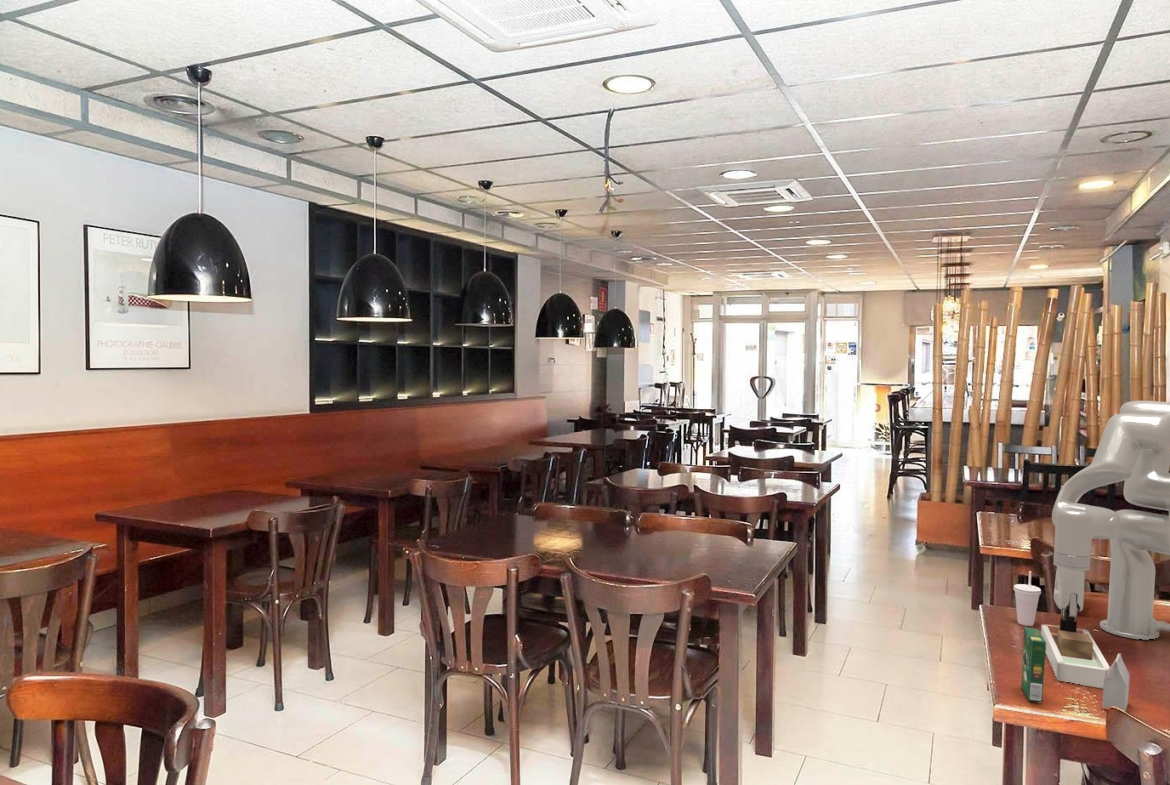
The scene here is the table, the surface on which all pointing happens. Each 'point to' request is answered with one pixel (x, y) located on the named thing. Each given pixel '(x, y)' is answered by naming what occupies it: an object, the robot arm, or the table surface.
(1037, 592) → the smoothie
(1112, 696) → the milk carton
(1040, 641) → the coffee box
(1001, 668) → the table surface
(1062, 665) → the box
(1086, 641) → the block
